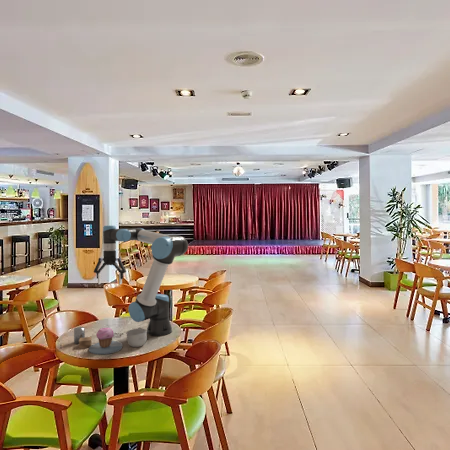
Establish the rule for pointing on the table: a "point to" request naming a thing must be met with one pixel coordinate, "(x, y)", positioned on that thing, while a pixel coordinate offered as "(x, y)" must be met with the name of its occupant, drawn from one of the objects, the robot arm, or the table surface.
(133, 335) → the teacup
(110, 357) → the table surface
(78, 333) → the metal tin
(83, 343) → the walnut block
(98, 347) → the plate
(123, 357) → the table surface
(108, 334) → the cupcake
